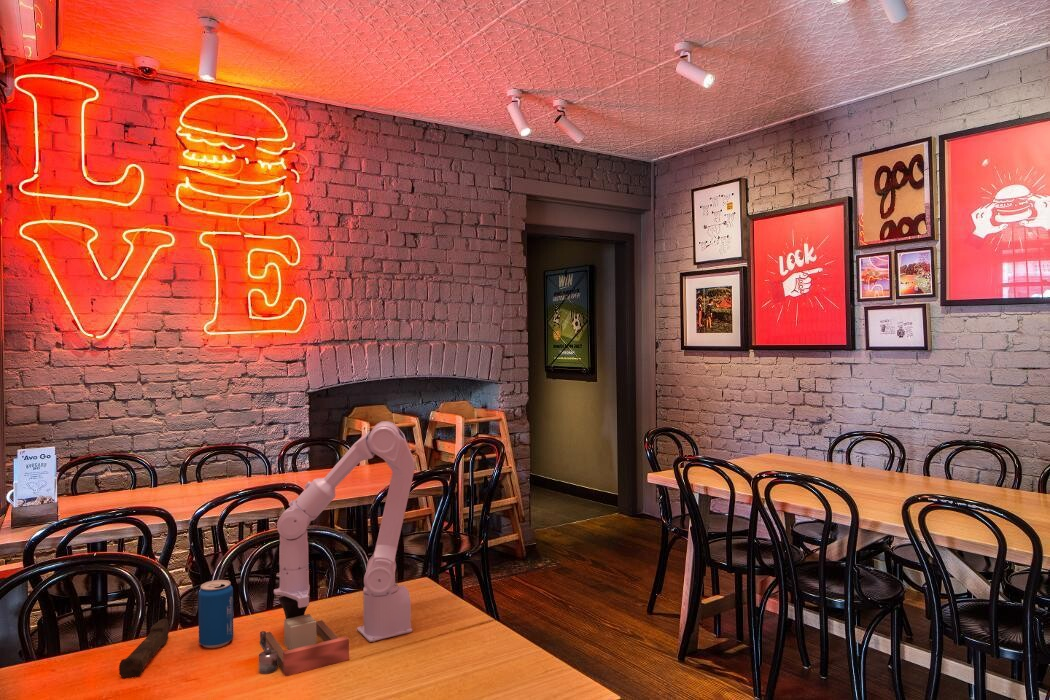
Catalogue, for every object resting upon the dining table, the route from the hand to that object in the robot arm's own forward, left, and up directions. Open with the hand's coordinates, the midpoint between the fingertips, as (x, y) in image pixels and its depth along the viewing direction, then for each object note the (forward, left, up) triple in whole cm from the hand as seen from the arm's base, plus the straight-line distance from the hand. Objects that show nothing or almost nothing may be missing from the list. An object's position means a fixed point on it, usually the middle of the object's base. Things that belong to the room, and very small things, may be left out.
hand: (294, 631), depth 145 cm
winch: (+8, +10, -1) cm, 13 cm away
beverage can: (+14, -7, -2) cm, 16 cm away
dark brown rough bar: (+26, -8, -2) cm, 28 cm away
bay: (0, +7, -1) cm, 7 cm away
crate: (0, +4, -1) cm, 4 cm away
